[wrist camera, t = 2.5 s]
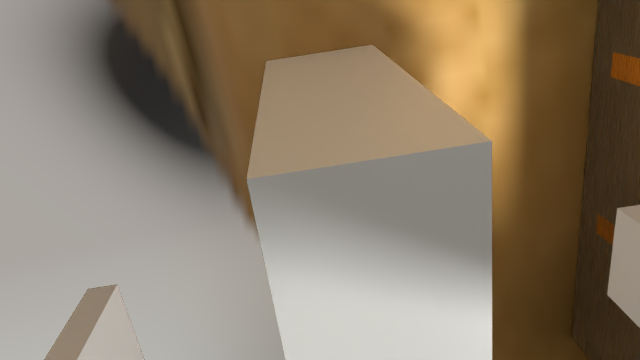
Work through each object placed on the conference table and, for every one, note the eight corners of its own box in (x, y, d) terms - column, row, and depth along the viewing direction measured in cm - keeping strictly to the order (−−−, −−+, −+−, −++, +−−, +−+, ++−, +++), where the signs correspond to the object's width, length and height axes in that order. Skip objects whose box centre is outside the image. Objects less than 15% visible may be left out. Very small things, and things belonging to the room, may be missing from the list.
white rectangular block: (314, 328, 20) (341, 618, 11) (266, 60, 16) (246, 179, 7) (398, 314, 21) (492, 593, 11) (372, 44, 16) (492, 141, 7)
